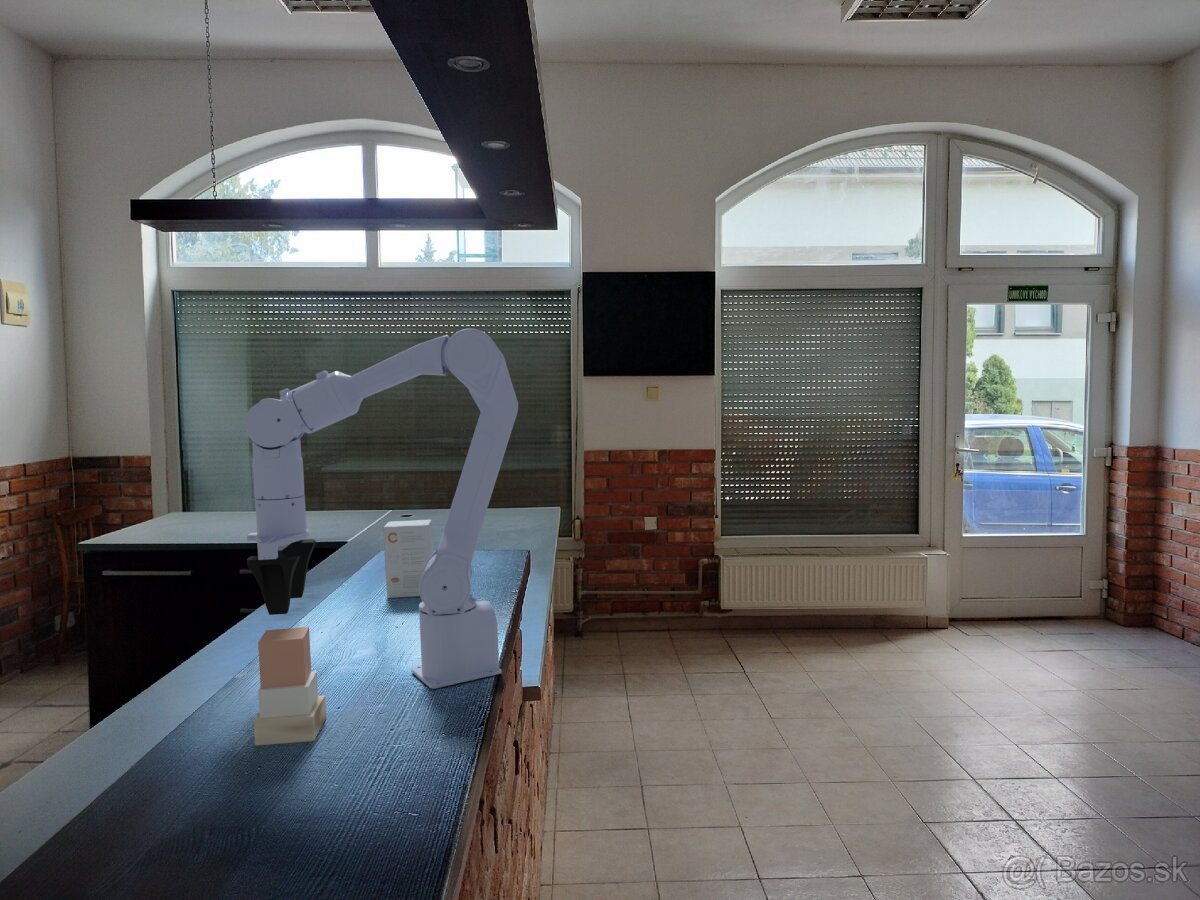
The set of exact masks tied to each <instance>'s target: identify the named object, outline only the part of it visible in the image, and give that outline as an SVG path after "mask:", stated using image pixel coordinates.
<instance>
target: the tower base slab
mask: <svg viewBox="0 0 1200 900" xmlns="http://www.w3.org/2000/svg"><path fill="white" fill-rule="evenodd" d="M326 720H327V704H326V695H324V694H323V695H318V698H317V700H316V702H315V704H314V706H313V708H312V710H311V712H310V714H309V715H297V716H285V717H273V718H261V719H260V714H259V713H258V714H257V715H256V716H255V718H254V719H253V735H254V746H262V745H263V746H265V745H278V744H279V745H280V744H288V743H289V744H293V743H301V742H302V743H305V742H315V741H316V738H317V737H318V735H317V734H319V732H320V731H321V729H322V728H323V726H324V724H323V723H325V721H326ZM319 730H320V731H319ZM316 736H317V737H316Z"/></svg>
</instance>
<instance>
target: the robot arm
mask: <svg viewBox="0 0 1200 900" xmlns="http://www.w3.org/2000/svg"><path fill="white" fill-rule="evenodd" d="M446 368H447V369H448V370H449V372H450V373H451V374H452V375H453V376H454V377H456V378H457V379H458V380H459V382H461V383H462V384H463V385H464V386H465V387H466V388H467V389H468V391H469V393H470V396H471V397H472V400H473V401H474V402H475V404H476V406H477V408H478V409H479V411H480V414H479V417H478V420H477V423H476V426H475V429H474V432H473V436H472V439H471V441H470V445H469V448H468V452H467V454H466V458H465V461H464V465H463V466H462V467H463V468H462V470H461V474H460V478H459V481H458V484H457V487H456V488H455V489H456V491H455V493H454V496H453V499H452V502H451V506H450V509H449V512H448V516H447V519H446V522H445V524H444V528H443V531H442V534H441V538H440V541H439V544H438V547H437V548H436V550H435V551H434V553H433V554H432V555H431V556H430V557H429V559H428V560H427V562H426V564H425V567H424V573H423V574H422V576H421V578H420V581H419V594H420V596H419V597H420V599H421V602H420V603H419V604H418V613H419V615H418V616H419V617H418V618H419V635H420V636H419V637H420V638H419V641H420V656H421V657H420V659H421V665H419V666H414V667H412V668H411V669H410V670H411V671H410V672H411V673H413V674H414V675H415V676H416V677H417V678H418V679H419V680H420V681H422V682H423V683H424V684H425V685H426V686H428V687H429V688H430V689H432V690H433V689H434V690H435V689H439V688H444V687H448V686H452V685H457V684H461V683H465V682H470V681H475V680H479V679H483V678H488V677H492V676H495V675H496V676H497V675H500V674H502V669H501V668H500V659H499V633H498V621H497V620H498V619H497V615H496V612H495V609H494V608H493V606H492V604H491V603H490V602H489V601H487V600H480V601H477V599H476V598H475V597H474V596H473V595H472V593H471V590H472V583H471V580H472V575H473V567H472V562H473V557H474V556H475V555H474V554H475V551H476V546H477V543H478V540H479V536H480V533H481V530H482V527H483V525H484V524H483V523H484V520H485V516H486V513H487V510H488V507H489V505H490V501H491V498H492V494H493V491H494V488H495V484H496V481H497V478H498V475H499V472H500V470H501V467H502V466H501V465H502V464H503V463H502V462H503V459H504V455H505V453H506V449H507V446H508V443H509V440H510V437H511V433H512V431H513V427H514V425H515V424H514V423H515V421H516V419H517V415H518V412H519V402H518V398H517V395H516V392H515V388H514V386H513V385H514V384H513V383H512V380H511V379H512V378H511V376H510V373H509V369H508V366H507V362H506V359H505V356H504V354H503V353H502V351H501V350H500V349H499V348H498V346H497V344H496V343H495V342H494V340H493V339H492V338H491V337H490V336H489V335H488V334H487V333H486V332H484V331H482V330H480V329H477V328H465V329H464V328H463V329H460V330H458V331H457V332H454V334H452V336H451V337H450V336H449V335H448V334H446V335H442V336H439V337H436V338H435V337H434V338H433V339H430V340H426V341H423V342H420V343H418V344H416V345H414V346H411V347H409V348H407V349H405V350H403V351H400V352H398V353H397V354H395V355H393V356H390V357H388V358H386V359H384V360H382V361H380V362H378V363H376V364H374V365H372V366H370V367H368V368H365V369H363V370H361V371H359V372H357V373H354V374H353V375H349V374H346V373H343V372H342V371H339V370H335V371H333V372H332V371H331V372H330V373H329V372H328V371H327V370H322V371H320V372H317V373H316V374H315V377H316V378H315V379H314V380H312V381H309V382H308V383H305V384H303V385H300V386H299V387H298V386H297V387H296V388H294V389H291V390H290V389H289V388H284V389H282V390H279V395H280V397H279V399H277V398H271V397H270V398H268V397H267V398H263V399H260V401H259V402H257V403H255V404H254V405H252V407H250V409H248V411H247V412H246V415H245V419H244V428H245V432H246V435H247V436H248V438H249V439H250V440H251V441H252V446H251V447H252V458H253V459H252V460H253V461H252V471H253V472H252V473H253V488H254V489H253V490H254V491H253V492H254V502H255V503H254V504H255V505H254V506H255V520H256V521H255V522H256V532H250V533H249V534H246V540H247V541H250V542H251V541H255V542H256V543H257V545H256V546H257V555H251V556H249V557H248V558H247V559H246V564H247V567H248V569H249V570H250V571H251V573H252V574H253V576H254V577H255V579H256V582H257V583H258V586H259V589H260V592H261V594H262V597H263V600H264V603H265V607H266V610H267V613H268V615H269V616H271V615H272V616H274V615H286V614H287V615H288V613H289V609H290V605H291V599H300V598H301V599H302V597H303V596H304V592H305V585H306V578H307V572H308V566H309V562H310V559H311V556H312V553H313V551H314V548H315V546H316V545H317V543H316V542H317V541H316V539H313V538H311V539H310V538H308V537H309V535H310V533H309V529H308V528H307V515H306V514H307V513H306V510H307V509H306V497H305V496H306V495H305V477H304V475H305V474H304V464H303V463H304V460H303V457H302V445H301V444H302V443H301V438H302V437H303V435H304V434H309V435H310V434H312V433H315V432H317V431H320V430H323V429H324V428H326V427H329V426H331V425H333V424H335V423H339V422H340V421H342V420H344V419H346V418H348V417H351V416H354V415H355V414H357V413H358V411H359V410H360V407H361V404H362V401H363V399H366V398H368V397H371V396H373V395H376V394H377V393H379V392H382V391H385V390H387V389H390V388H393V387H395V386H397V385H399V384H402V383H404V382H407V381H409V380H411V379H414V378H417V377H420V376H421V375H427V376H441V377H442V376H445V377H447V371H446V370H447V369H446ZM307 538H308V539H307Z"/></svg>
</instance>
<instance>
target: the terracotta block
mask: <svg viewBox="0 0 1200 900" xmlns="http://www.w3.org/2000/svg"><path fill="white" fill-rule="evenodd" d="M310 640H311V638H310V626H303V627H291V628H288V627H287V628H278V629H266V630H265V631H264V632H263V634H262V636H261V637H260V639H259V640H258V641H257V645H258V646H257V647H258V666H259V681H260V682H259V683H260V687H261V689H264V688H274V687H285V686H295V685H305V684H306V682H307V680H308V677H309V675H310V673H311V671H312V660H311V659H312V657H311V641H310Z"/></svg>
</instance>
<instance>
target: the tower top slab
mask: <svg viewBox="0 0 1200 900" xmlns="http://www.w3.org/2000/svg"><path fill="white" fill-rule="evenodd" d="M318 685H319V684H318V671H317V670H311V673H310V675H309V677H308V680H307V682H306V684H305V685H295V686H285V687H274V688H264V689H261V686H260V687H259V689H258V691H257V694H258V711H259V712H258V714H260V719H261V718H273V717H285V716H297V715H309V714H310V712H311V710H312V708H313V706H314V704H315V702H316V700H317V698H318V696H319V687H318Z"/></svg>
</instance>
